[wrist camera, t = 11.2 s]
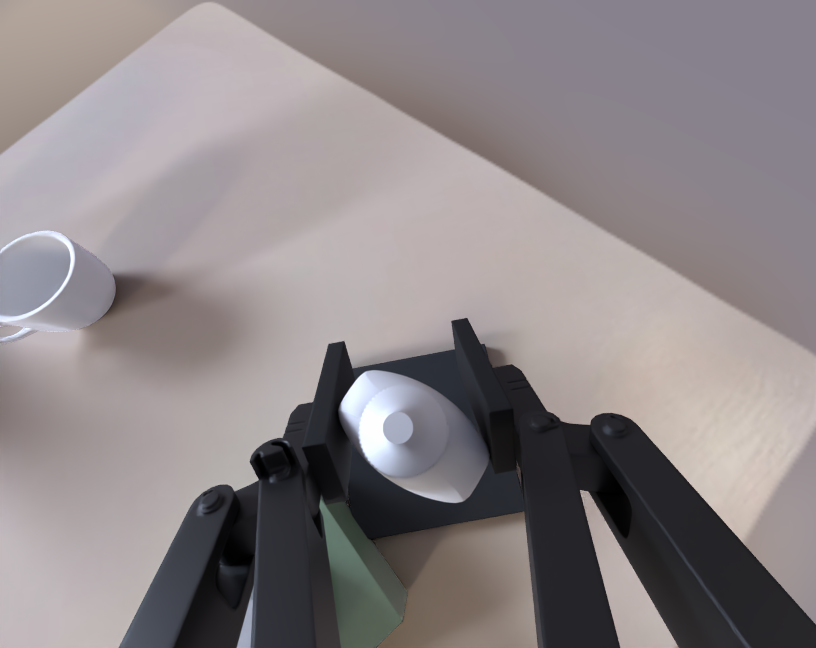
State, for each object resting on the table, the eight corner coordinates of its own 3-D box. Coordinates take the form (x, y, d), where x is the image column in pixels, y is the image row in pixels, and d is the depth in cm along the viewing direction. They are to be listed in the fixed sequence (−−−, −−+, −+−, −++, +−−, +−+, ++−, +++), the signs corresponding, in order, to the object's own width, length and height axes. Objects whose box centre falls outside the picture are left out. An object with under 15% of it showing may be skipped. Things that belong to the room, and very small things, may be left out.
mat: (483, 345, 29) (484, 343, 28) (524, 509, 25) (526, 511, 24) (337, 373, 29) (335, 371, 28) (356, 540, 25) (354, 542, 25)
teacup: (100, 247, 34) (41, 214, 29) (148, 291, 33) (94, 263, 27) (13, 326, 32) (-66, 305, 27) (59, 378, 31) (-17, 366, 25)
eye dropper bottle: (430, 371, 21) (424, 285, 9) (481, 465, 19) (552, 501, 7) (362, 407, 20) (267, 365, 9) (408, 506, 18) (363, 612, 7)
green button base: (322, 468, 27) (292, 476, 21) (408, 592, 24) (399, 640, 18) (185, 586, 25) (111, 629, 19) (260, 735, 22) (199, 836, 17)
